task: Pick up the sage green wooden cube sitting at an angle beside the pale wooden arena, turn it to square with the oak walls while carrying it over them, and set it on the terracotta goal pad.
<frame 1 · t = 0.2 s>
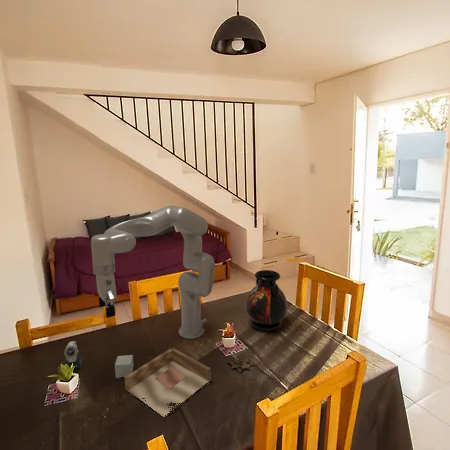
hand: (107, 311, 123), 30 cm above the table, tool pointing down, fingers open, 9 cm apart
arena: (168, 386, 127), on the table
lily flower: (240, 365, 140), on the table
cube: (124, 372, 134), on the table
watch: (74, 367, 138), on the table
amphora vase: (265, 324, 172), on the table
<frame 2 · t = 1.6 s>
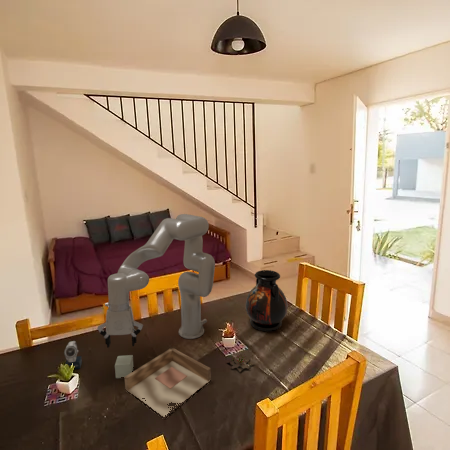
hand: (121, 345, 131), 13 cm above the table, tool pointing down, fingers open, 9 cm apart
nothing on the table moved.
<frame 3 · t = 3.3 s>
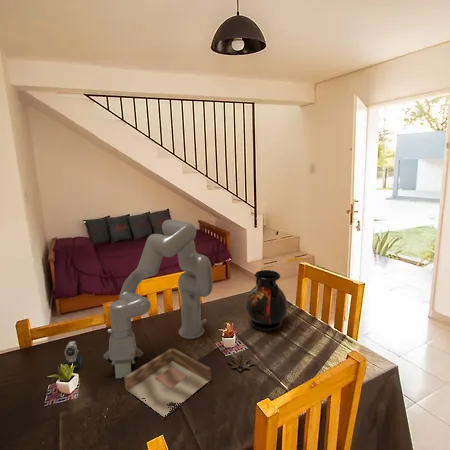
hand: (124, 370, 134), 1 cm above the table, tool pointing down, fingers closed on cube, 6 cm apart
cube: (124, 372, 134), on the table, touching gripper
everything else where it was.
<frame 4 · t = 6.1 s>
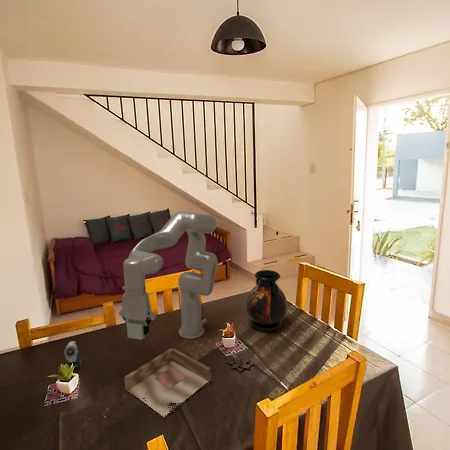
hand: (138, 332, 129), 19 cm above the table, tool pointing down, fingers closed on cube, 6 cm apart
cube: (138, 334, 129), point 18 cm above the table, touching gripper
everything else where it was.
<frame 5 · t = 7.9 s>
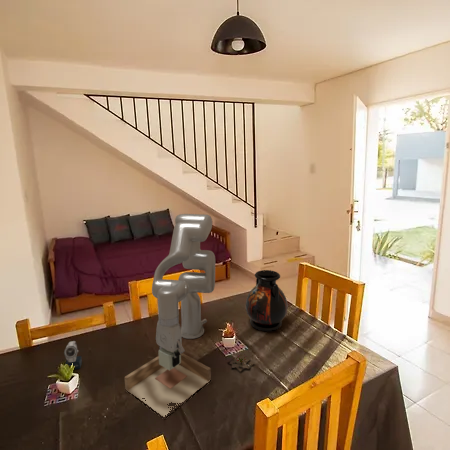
hand: (170, 361, 128), 9 cm above the table, tool pointing down, fingers closed on cube, 6 cm apart
cube: (170, 363, 128), point 8 cm above the table, touching gripper
everything else where it was.
when the fingers open (3 cm above the table, at t = 9.3 s): cube drops 1 cm, resting on arena.
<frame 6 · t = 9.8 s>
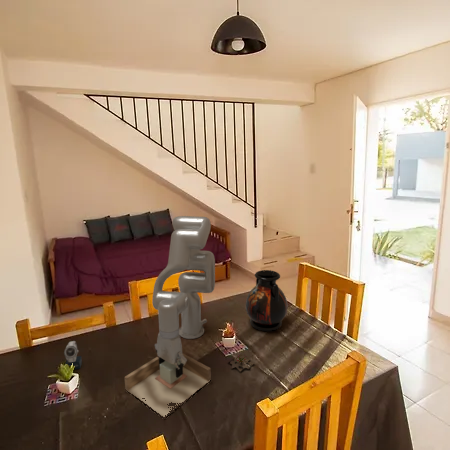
hand: (170, 370, 129), 4 cm above the table, tool pointing down, fingers open, 9 cm apart
cube: (171, 377, 130), point 1 cm above the table, touching arena
everything else where it was.
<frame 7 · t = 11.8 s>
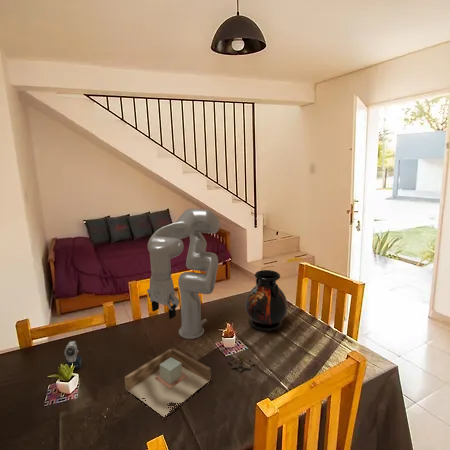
hand: (163, 313, 131), 25 cm above the table, tool pointing down, fingers open, 9 cm apart
nothing on the table moved.
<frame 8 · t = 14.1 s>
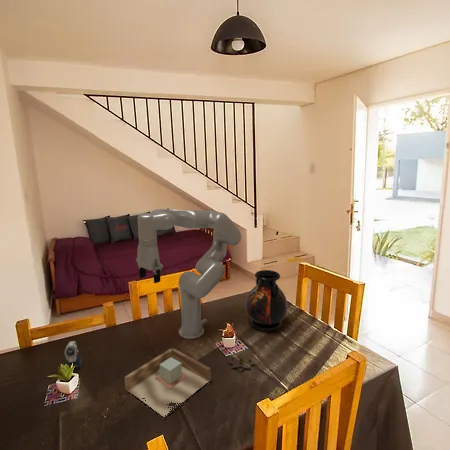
hand: (149, 279, 144), 33 cm above the table, tool pointing down, fingers open, 9 cm apart
nothing on the table moved.
at the end: cube 0.0 cm from the target spot on the arena, point 1.2 cm above the arena's base; cube tilted 0°; the gripper is holding nothing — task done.
